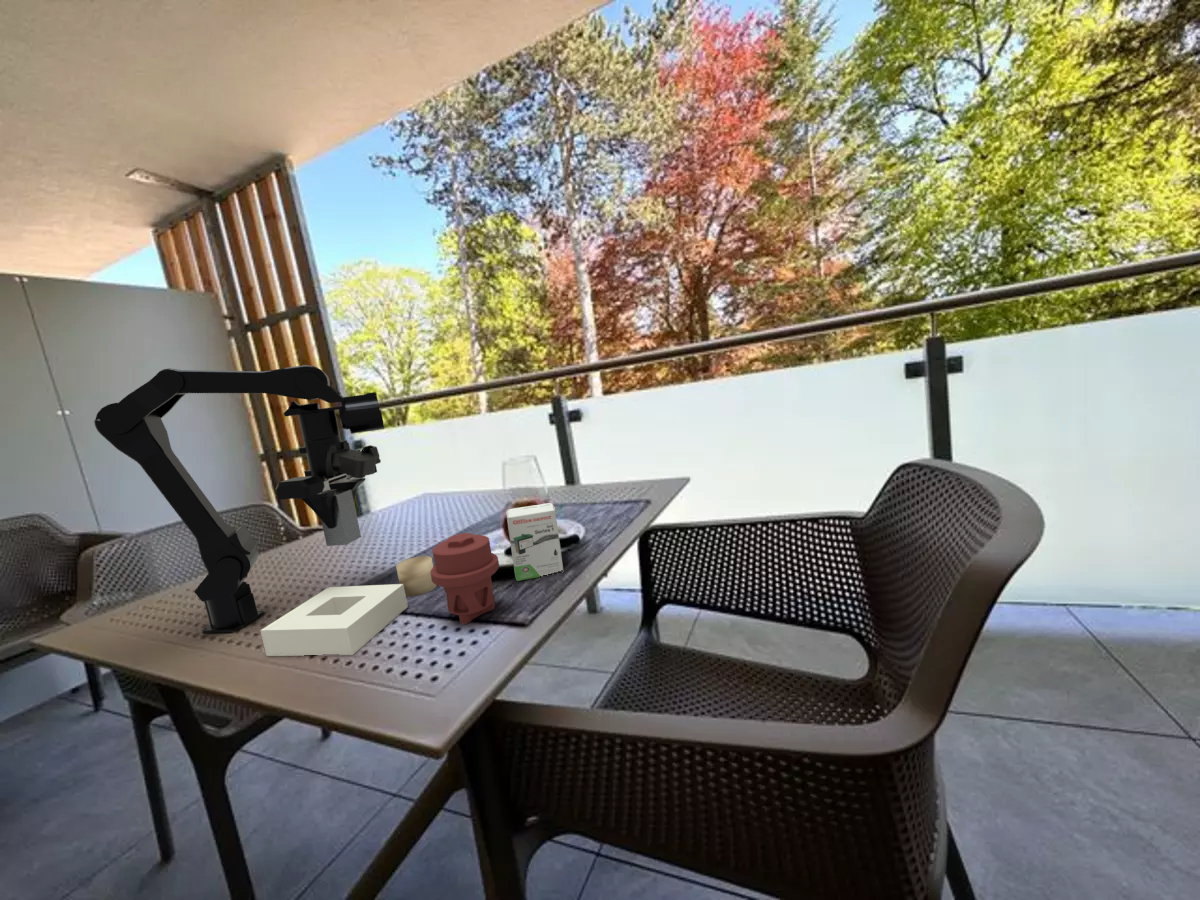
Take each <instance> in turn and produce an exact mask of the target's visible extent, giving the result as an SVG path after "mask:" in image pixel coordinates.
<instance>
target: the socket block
mask: <svg viewBox="0 0 1200 900" xmlns="http://www.w3.org/2000/svg"><path fill="white" fill-rule="evenodd" d="M408 605H409V604H408V601H407V596H406V595H405V590H404V585H403V584H399V583H394V584H392V583H391V584H371V585H368V584H367V585H351V586H350V585H348V586H330V587H326V588H325V589H323V590H322V591H321V592H319V593H317V594H316V595H313V597H311V598H310V599H308V600H306V601H305V602H303V603H301V604H300V605H298V606H297V607H295V608H293V609H292V610H291V611H289V612H287V613H286V614H284V615H282V616H281V617H279V618H278V619H276V620H275V621H273V622H272V623H270V624H268V625H266V626H265V627H264V628H262V629H260V634H261V639H262V641H263V646H264V650H265V655H266V657H289V656H290V657H291V656H292V657H294V656H297V657H305V656H304V655H318V656H324V655H323V654H339V655H338V656H353V655H354V654H356V653H357V652H358V651H359V650H360V649H361V648H362V647H364V646H365V645H366V644H367V643H368V642H369V641H371V640H372V639H373V638H374V637H375V636H376V635H377V634H378V633H379V632H381V631H382V630H383V629H385V628H386V626H388V625H389V624H390V623H391V622H392V621H393V620H395V619H396V618H397V617H398V616H399V615H400V614H401V613H402V612H404V611H405V610H406V609H407V608H408Z"/></svg>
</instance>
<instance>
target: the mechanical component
mask: <svg viewBox="0 0 1200 900" xmlns="http://www.w3.org/2000/svg"><path fill="white" fill-rule="evenodd" d="M432 555H433V561H434V565H433V568H432V569H431V572H430V573H431V579H432V582H433V583H434V584H436V586H439V587H441V588H443V589H444V592H445V594H446V605H447V610H448V612H449V613H450V614H453V615H454V616H455V615H456V616H458V618H459V623H460V624H462V625H466V624H470V623H471V622H472V621H474V619H476V618H477V617H480V616H481V615H483V614H486V613H488V612H492V611H493V610H495V608H496V606H495V605H496V604H495V595H494V589H493V582H492V576H493V575H494V574H496V572H497V571H498V570H499V568H500V562H499V557H498V555H497V554H495V553H493V552H492V549H491V543H490V538H489V537H488V536H486V535H483V534H472V533H470V532H465V533H458V534H454V535H451V536H450V537H448V538H447V539H446V540H444V541H442V542H440V543H438V544H437V545H435V547H433V549H432Z"/></svg>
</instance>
